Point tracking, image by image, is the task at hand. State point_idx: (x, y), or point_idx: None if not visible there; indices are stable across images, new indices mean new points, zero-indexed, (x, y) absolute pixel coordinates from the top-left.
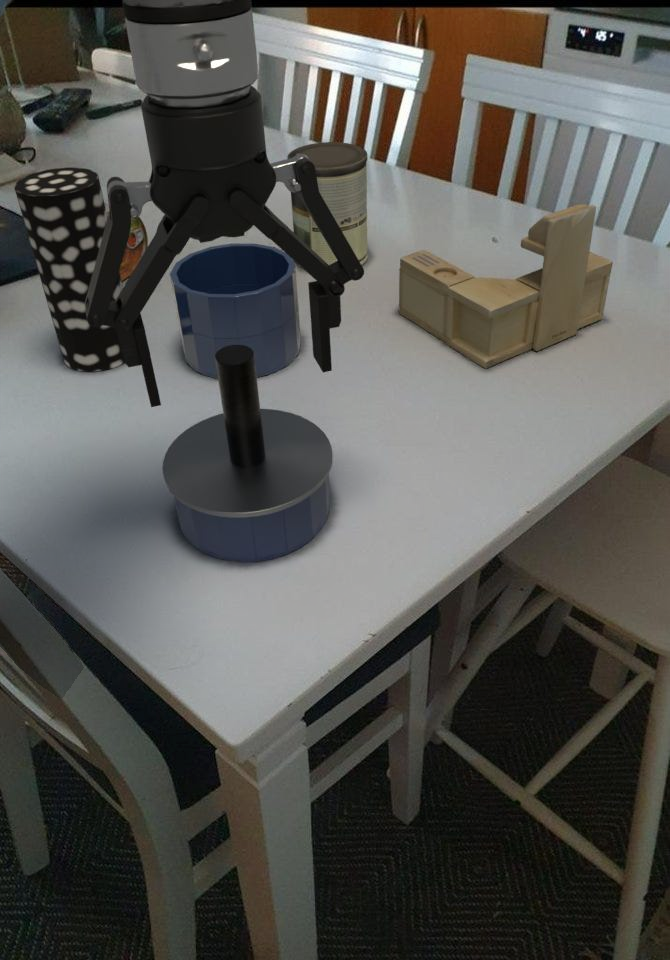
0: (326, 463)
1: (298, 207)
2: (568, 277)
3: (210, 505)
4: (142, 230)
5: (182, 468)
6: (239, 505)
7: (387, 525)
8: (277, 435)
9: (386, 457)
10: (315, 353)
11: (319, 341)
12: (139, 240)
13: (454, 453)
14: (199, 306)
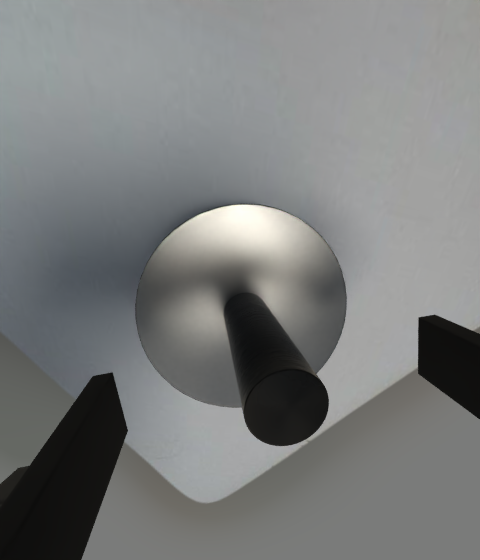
0: (333, 340)
1: None
2: None
3: (197, 392)
4: None
5: (162, 323)
6: (229, 395)
7: (352, 333)
8: (287, 276)
9: (382, 234)
10: (429, 339)
11: (469, 401)
12: None
13: (446, 241)
14: None
